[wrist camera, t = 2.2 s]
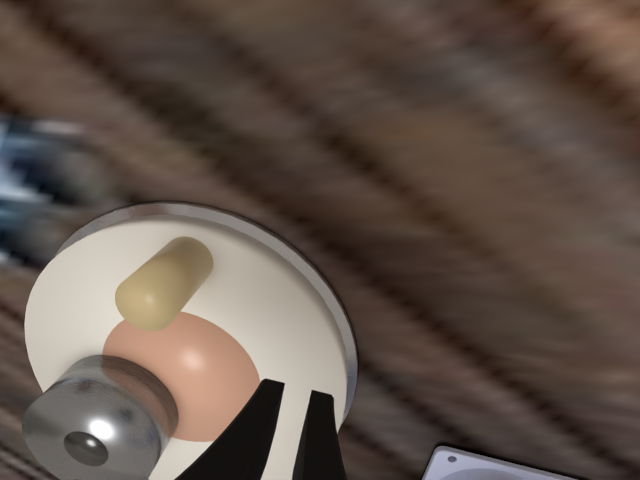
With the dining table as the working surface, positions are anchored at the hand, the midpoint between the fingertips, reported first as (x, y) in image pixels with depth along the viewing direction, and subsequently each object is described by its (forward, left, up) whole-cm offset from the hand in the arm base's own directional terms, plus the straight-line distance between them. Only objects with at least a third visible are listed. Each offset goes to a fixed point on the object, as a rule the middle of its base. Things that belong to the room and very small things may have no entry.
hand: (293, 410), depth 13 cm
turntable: (+6, +8, -9) cm, 14 cm away
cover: (+10, +10, -7) cm, 16 cm away
